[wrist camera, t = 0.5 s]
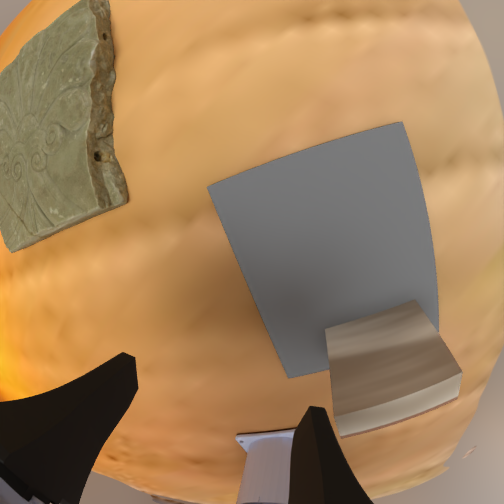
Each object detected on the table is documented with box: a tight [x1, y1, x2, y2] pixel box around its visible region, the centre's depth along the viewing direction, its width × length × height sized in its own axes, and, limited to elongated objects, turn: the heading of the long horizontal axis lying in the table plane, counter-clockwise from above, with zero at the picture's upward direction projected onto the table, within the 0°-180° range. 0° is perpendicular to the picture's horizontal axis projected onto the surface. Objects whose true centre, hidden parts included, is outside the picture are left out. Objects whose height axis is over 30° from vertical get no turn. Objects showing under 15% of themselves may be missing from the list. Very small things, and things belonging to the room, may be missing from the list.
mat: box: [207, 122, 439, 379], centre depth 17 cm, size 16×13×1 cm
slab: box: [325, 299, 463, 439], centre depth 14 cm, size 2×7×8 cm, turn 111°
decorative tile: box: [0, 0, 128, 253], centre depth 16 cm, size 19×20×4 cm
